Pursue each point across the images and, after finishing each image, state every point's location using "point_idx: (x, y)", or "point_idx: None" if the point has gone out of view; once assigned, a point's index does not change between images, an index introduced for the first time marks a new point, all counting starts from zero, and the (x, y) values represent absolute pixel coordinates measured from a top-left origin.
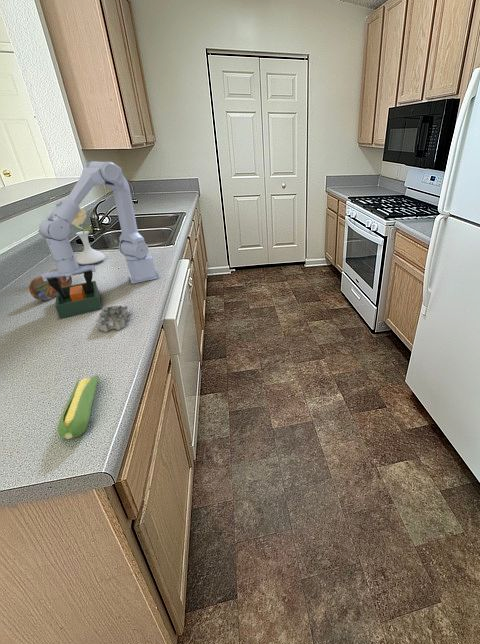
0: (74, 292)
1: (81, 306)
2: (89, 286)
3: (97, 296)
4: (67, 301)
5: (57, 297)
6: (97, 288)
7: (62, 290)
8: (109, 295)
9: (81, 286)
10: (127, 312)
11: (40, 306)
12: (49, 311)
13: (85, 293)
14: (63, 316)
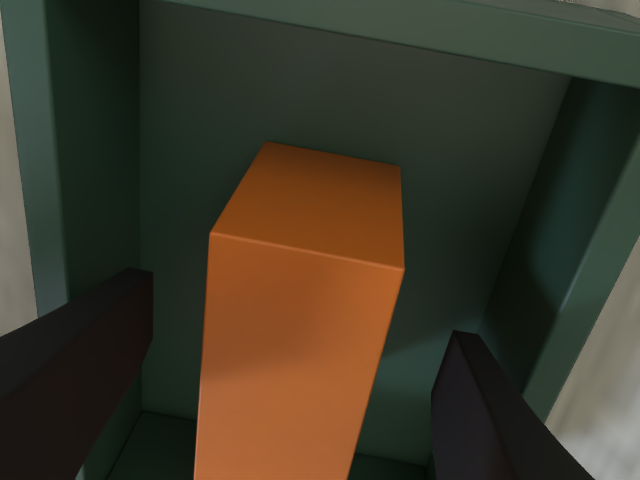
0: (316, 316)
1: None
2: (61, 321)
3: (13, 9)
4: (416, 391)
5: (547, 384)
6: None
7: (457, 463)
8: (28, 264)
9: (199, 446)
10: None
11: (633, 471)
12: (623, 316)
13: None
14: (584, 8)
